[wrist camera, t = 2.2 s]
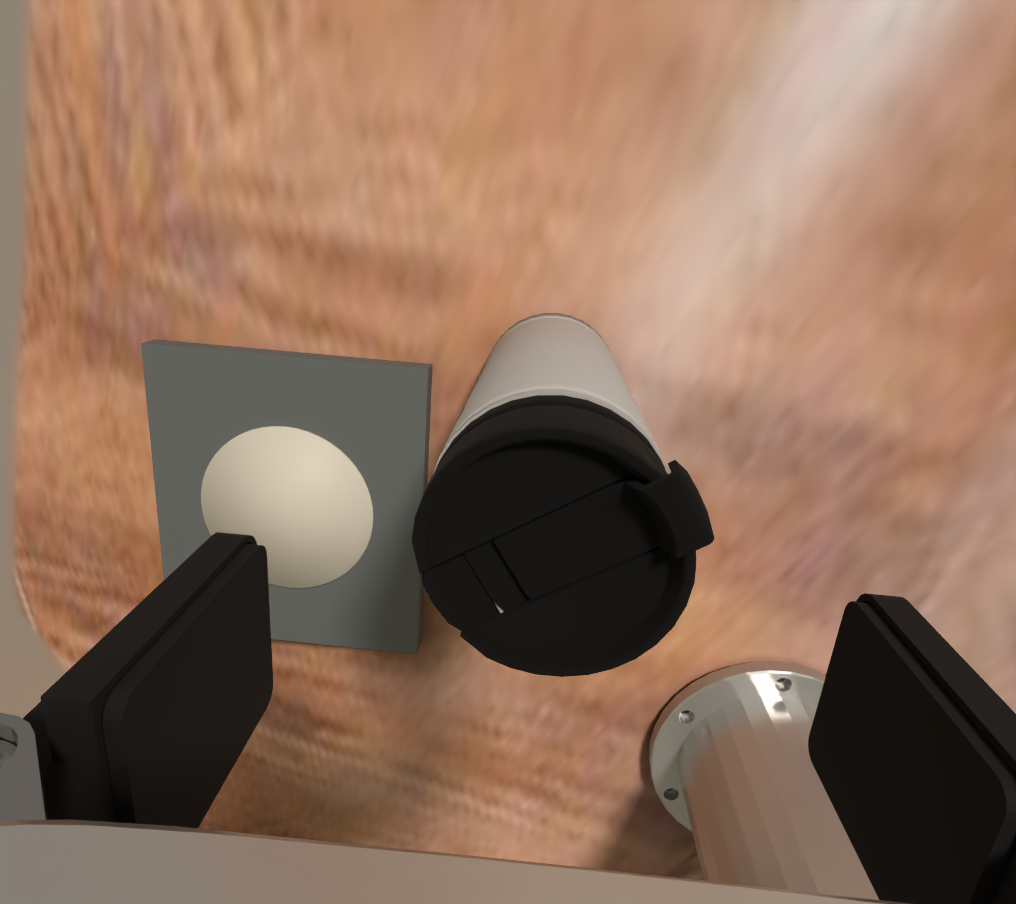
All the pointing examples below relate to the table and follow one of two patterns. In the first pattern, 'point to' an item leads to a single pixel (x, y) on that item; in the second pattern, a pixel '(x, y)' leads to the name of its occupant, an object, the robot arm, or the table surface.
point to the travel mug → (557, 511)
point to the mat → (298, 479)
